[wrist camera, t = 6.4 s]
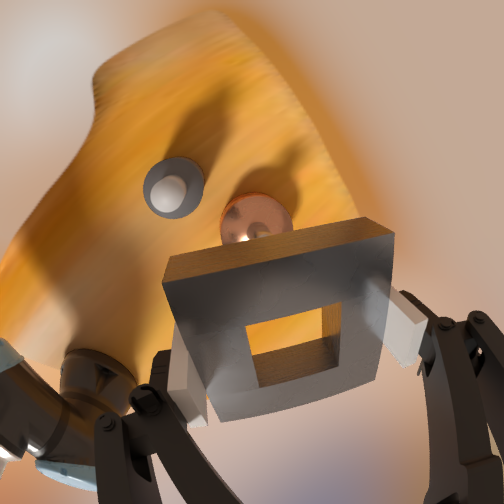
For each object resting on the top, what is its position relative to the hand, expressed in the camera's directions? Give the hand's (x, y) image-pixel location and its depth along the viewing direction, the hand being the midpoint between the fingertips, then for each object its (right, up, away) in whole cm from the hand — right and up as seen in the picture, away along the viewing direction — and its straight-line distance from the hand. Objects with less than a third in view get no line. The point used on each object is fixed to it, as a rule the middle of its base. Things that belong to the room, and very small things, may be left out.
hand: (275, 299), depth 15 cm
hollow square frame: (0, -1, -2) cm, 2 cm away
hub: (-1, +6, +19) cm, 20 cm away
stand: (-10, +11, +15) cm, 21 cm away
